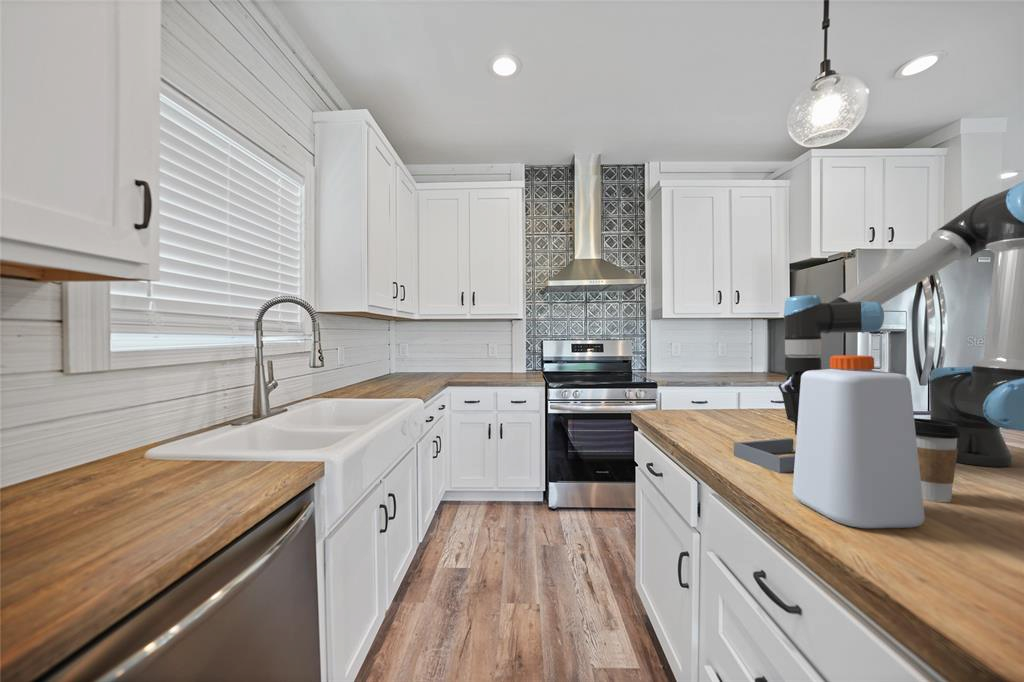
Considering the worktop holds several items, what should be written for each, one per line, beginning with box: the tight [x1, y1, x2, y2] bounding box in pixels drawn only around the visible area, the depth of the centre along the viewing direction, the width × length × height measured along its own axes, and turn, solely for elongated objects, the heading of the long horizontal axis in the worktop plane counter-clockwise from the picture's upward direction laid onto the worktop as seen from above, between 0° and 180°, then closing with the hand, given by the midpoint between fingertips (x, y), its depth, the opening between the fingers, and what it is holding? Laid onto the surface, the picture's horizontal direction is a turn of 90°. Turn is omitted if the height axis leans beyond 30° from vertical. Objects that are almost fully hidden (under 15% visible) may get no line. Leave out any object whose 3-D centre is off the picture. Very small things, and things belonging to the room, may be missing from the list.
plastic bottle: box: [792, 354, 926, 529], centre depth 71 cm, size 15×15×28 cm
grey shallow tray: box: [733, 437, 795, 474], centre depth 100 cm, size 18×14×4 cm
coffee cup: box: [914, 417, 960, 503], centre depth 77 cm, size 8×8×15 cm
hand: (803, 448), depth 101 cm, fingers closed
